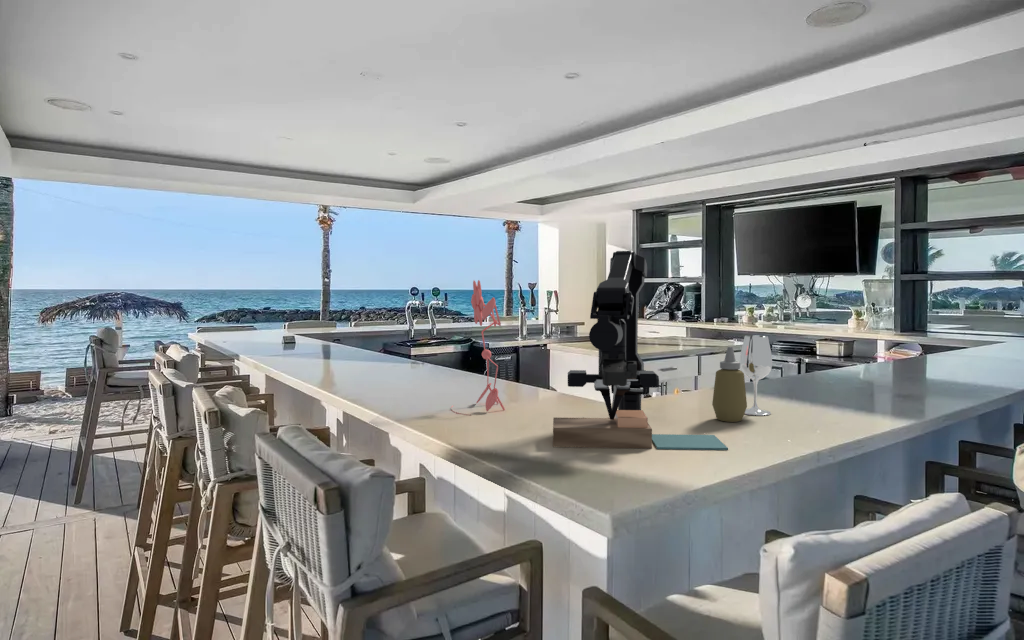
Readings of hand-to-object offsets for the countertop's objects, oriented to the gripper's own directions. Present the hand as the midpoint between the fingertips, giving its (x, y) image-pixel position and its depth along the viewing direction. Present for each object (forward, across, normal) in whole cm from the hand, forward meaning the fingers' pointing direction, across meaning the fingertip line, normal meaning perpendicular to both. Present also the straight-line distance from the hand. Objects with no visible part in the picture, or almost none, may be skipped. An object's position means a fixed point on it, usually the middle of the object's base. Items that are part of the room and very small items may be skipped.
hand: (611, 419), depth 130 cm
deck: (+5, -2, 0) cm, 5 cm away
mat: (+5, +16, 0) cm, 16 cm away
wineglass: (+5, +39, +32) cm, 51 cm away
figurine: (+5, -34, +35) cm, 49 cm away
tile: (+1, +4, 0) cm, 4 cm away
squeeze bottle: (+5, +30, +23) cm, 39 cm away
